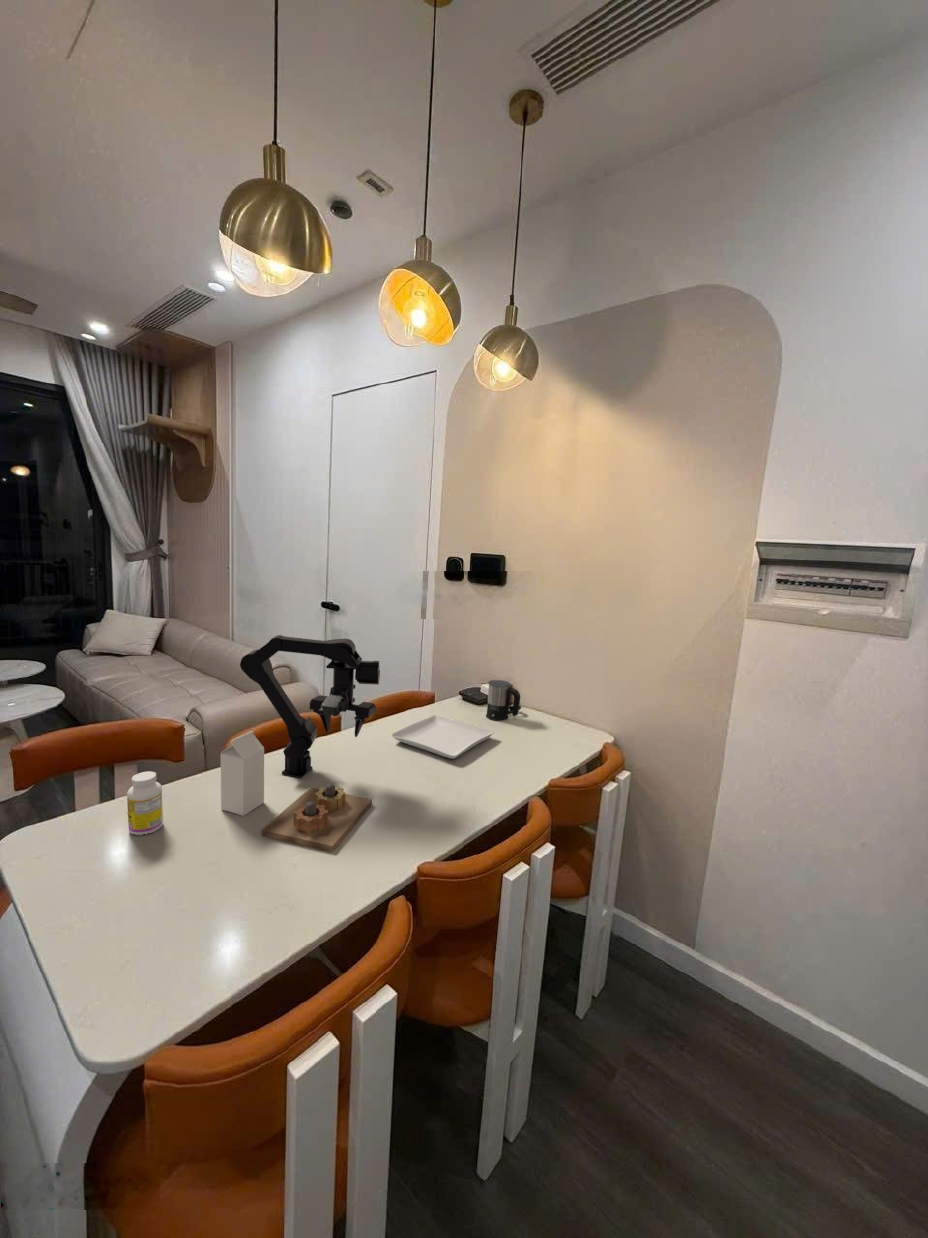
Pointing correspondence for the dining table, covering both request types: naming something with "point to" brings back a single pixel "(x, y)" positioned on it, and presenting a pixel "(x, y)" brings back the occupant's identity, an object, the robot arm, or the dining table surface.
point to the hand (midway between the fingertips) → (341, 734)
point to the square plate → (442, 736)
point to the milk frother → (501, 700)
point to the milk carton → (242, 775)
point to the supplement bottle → (144, 804)
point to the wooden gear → (331, 799)
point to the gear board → (328, 832)
